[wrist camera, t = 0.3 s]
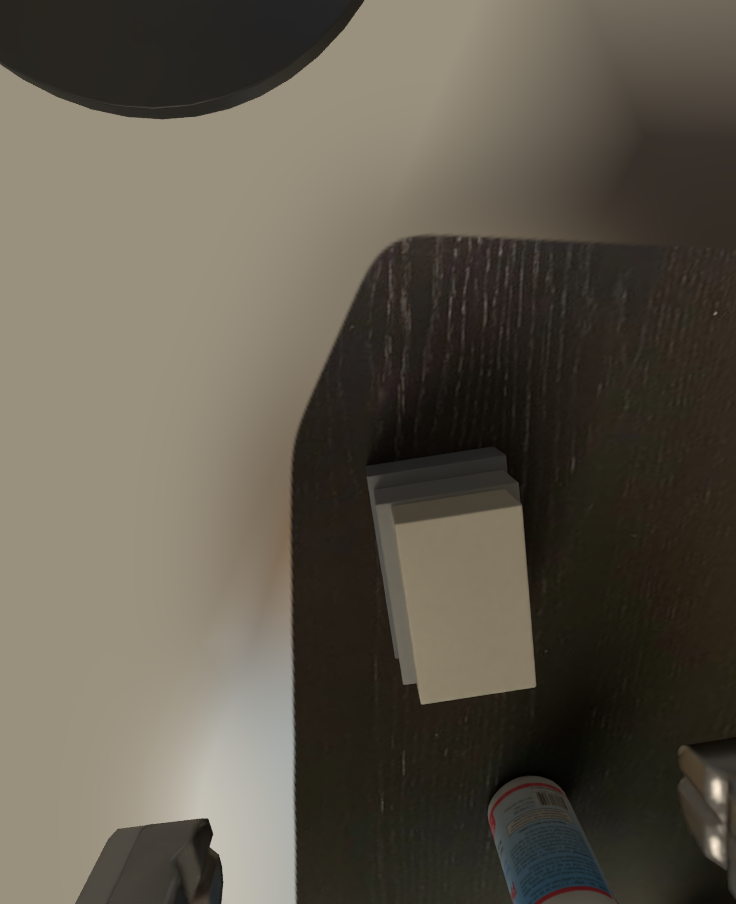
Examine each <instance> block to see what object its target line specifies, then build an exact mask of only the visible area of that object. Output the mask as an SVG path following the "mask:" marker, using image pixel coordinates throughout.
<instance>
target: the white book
mask: <svg viewBox="0 0 736 904" xmlns="http://www.w3.org/2000/svg"><path fill="white" fill-rule="evenodd" d="M391 515H392V521H393V528H394V535H395V542H396V549H397V555H398V562H399V569H400V576H401V582H402V589H403V596H404V603H405V609H406V616H407V623H408V630H409V637H410V643H411V650H412V657H413V664H414V670H415V676H416V681H417V686H418V692H419V697H420V702H421V704H428V703H435V702H441V701H448V700H454V699H461V698H467V697H474V696H480V695H487V694H493V693H500V692H507V691H513V690H520V689H526V688H533V687H536V676H535V663H534V650H533V638H532V625H531V612H530V599H529V586H528V574H527V561H526V548H525V535H524V523H523V510H522V505H521V504H520V503H519V502H518V501H517V500H516V499H515V498H514V497H513V496H512V495H511V494H510V493H509V492H508V491H507V490H505V489H502V490H495V491H489V492H482V493H476V494H469V495H463V496H456V497H450V498H443V499H437V500H430V501H424V502H417V503H411V504H404V505H398V506H392V507H391Z"/></svg>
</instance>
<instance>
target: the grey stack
mask: <svg viewBox="0 0 736 904" xmlns="http://www.w3.org/2000/svg"><path fill="white" fill-rule="evenodd" d="M366 475H367V482H368V488H369V495H370V501H371V508H372V514H373V520H374V527H375V533H376V539H377V546H378V552H379V558H380V565H381V571H382V577H383V584H384V590H385V596H386V603H387V609H388V615H389V622H390V628H391V634H392V641H393V647H394V653H395V658H396V659H397V658H399V661H400V667H401V674H402V680H403V684H404V685H407V684H413V683H417V681H416V676H415V670H414V664H413V657H412V650H411V643H410V637H409V630H408V623H407V616H406V609H405V603H404V596H403V589H402V582H401V576H400V569H399V562H398V555H397V549H396V542H395V535H394V528H393V521H392V515H391V507H392V506H398V505H404V504H411V503H417V502H424V501H430V500H437V499H443V498H450V497H456V496H463V495H469V494H476V493H482V492H489V491H495V490H502V489H505V490H507V491H508V492H509V493H510V494H511V495H512V496H513V497H514V498H515V499H516V500H517V501H518V502H519V503H520V492H519V483H518V482H517V481H516V480H515V479H513V478H512V477H511V476H510V475H509V474H508V472H507V460H506V455H505V454H503V453H502V452H501V451H499V450H498V449H496V448H495V447H486V448H480V449H473V450H467V451H460V452H454V453H447V454H441V455H434V456H428V457H422V458H415V459H409V460H402V461H396V462H389V463H383V464H376V465H370V466H366Z"/></svg>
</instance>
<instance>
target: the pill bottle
mask: <svg viewBox="0 0 736 904" xmlns="http://www.w3.org/2000/svg"><path fill="white" fill-rule="evenodd" d="M488 819H489V824H490V827H491V831H492V834H493V838H494V841H495V844H496V848H497V851H498V855H499V858H500V861H501V865H502V868H503V872H504V875H505V878H506V882H507V885H508V888H509V892H510V895H511V899H512V902H513V904H618V902H617V901H616V898H615V896H614V894H613V892H612V890H611V888H610V886H609V884H608V882H607V880H606V878H605V875H604V873H603V871H602V869H601V867H600V865H599V863H598V861H597V859H596V857H595V854H594V852H593V850H592V848H591V846H590V844H589V842H588V840H587V838H586V836H585V834H584V831H583V829H582V827H581V825H580V823H579V821H578V819H577V817H576V815H575V813H574V811H573V809H572V806H571V804H570V802H569V800H568V798H567V796H566V795H565V793H564V791H563V790H562V789H561V788H560V787H559V786H558V785H557V784H556V783H555V782H553V781H551V780H549V779H547V778H544V777H540V776H523V777H519V778H516V779H513V780H511V781H510V782H508V783H506V784H505V785H504V786H503V787H501V788H500V789H499V790H498V791H497V792H496V793H495V795H494V796H493V798H492V799H491V802H490V804H489V808H488Z"/></svg>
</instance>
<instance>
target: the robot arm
mask: <svg viewBox="0 0 736 904" xmlns="http://www.w3.org/2000/svg"><path fill="white" fill-rule="evenodd" d="M677 765H678V767H679V768H680V769H681V770H682V772H683V773H684V774H685V776H684V778H683V779H682V780H681V782H680V783H679V785H678V786H677V792H678V804H679V807H680V810H681V813H682V816H683V819H684V822H685V824H686V826H687V828H688V830H689V832H690V834H691V835H692V837H693V839H694V841H695V842H696V843H697V845H698V846H699V848H700V849H701V851H702V852H703V854H704V855H705V856H706V857H707V858H709V859H710V860H712V861H713V862H715V863H716V864H717V865H719V866H720V867H722V868H723V869H725V870H726V878H727V888H728V890H729V891H730V892H731V894H732V895H733V897H734V898H735V900H736V737H733V738H727V739H721V740H714V741H708V742H702V743H696V744H690V745H684V746H681V747H680V749H679V750H678V752H677ZM212 836H213V832H212V829H211V826H210V823H209V820H208V819H194V820H185V821H178V822H168V823H161V824H151V825H145V826H139V827H130V828H122V829H117V831H116V832H115V833H114V834H113V835H112V836H111V837H110V838H109V839H108V841H107V843H106V845H105V847H104V848H103V851H102V853H101V855H100V857H99V858H98V860H97V862H96V864H95V866H94V868H93V870H92V872H91V874H90V876H89V878H88V880H87V882H86V884H85V886H84V888H83V890H82V892H81V893H80V896H79V897H78V899H77V901H76V903H75V904H221V900H222V889H223V874H222V865H221V861H220V857H219V854H217V853H216V852H215V851H213V850H212V849H211V848H210V847H209V846H210V842H211V839H212Z"/></svg>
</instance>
